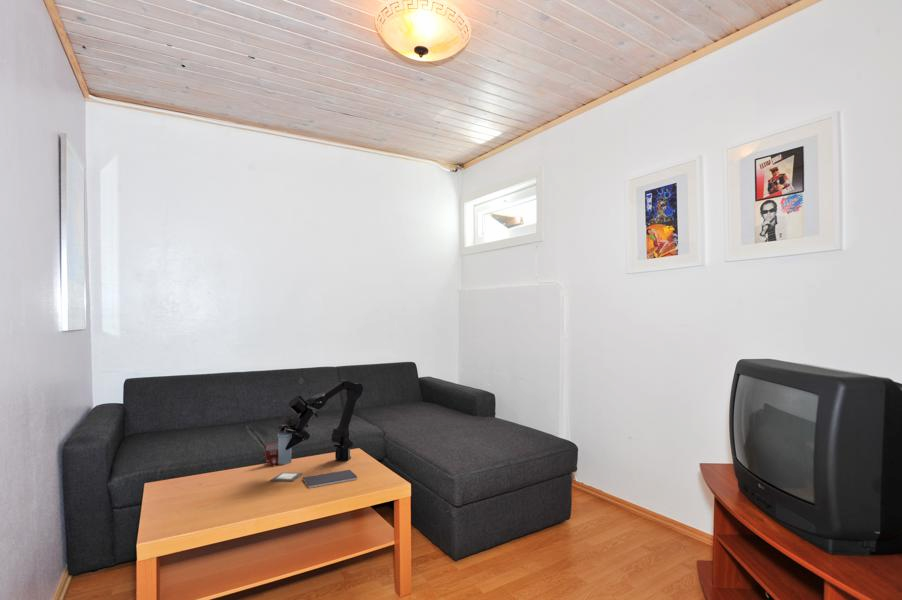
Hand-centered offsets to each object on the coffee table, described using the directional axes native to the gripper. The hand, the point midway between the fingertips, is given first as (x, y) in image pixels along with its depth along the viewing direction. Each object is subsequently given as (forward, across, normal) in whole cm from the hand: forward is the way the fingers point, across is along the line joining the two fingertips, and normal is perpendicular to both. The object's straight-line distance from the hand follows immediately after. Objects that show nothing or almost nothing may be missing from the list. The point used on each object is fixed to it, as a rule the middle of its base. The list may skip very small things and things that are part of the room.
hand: (282, 448), depth 209 cm
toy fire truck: (+1, -22, +17) cm, 28 cm away
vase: (+4, 0, +6) cm, 7 cm away
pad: (+8, +2, +10) cm, 13 cm away
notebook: (+2, +20, +18) cm, 27 cm away
